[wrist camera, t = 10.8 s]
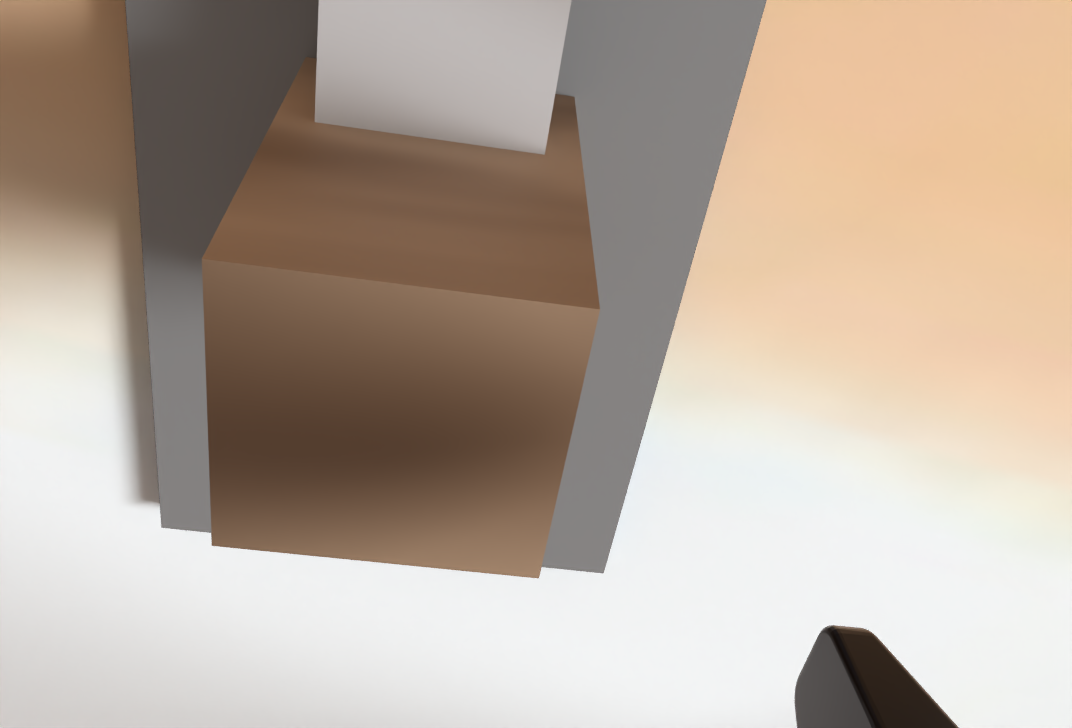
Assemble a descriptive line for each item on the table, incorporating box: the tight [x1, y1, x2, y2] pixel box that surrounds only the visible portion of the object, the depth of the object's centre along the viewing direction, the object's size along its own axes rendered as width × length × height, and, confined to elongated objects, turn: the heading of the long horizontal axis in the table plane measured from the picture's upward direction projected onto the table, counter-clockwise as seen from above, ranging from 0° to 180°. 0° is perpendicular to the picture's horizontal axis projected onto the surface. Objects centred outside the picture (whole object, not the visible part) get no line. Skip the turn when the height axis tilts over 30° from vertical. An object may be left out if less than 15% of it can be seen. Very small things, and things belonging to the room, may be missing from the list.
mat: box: [125, 0, 766, 573], centre depth 17 cm, size 16×9×1 cm, turn 171°
